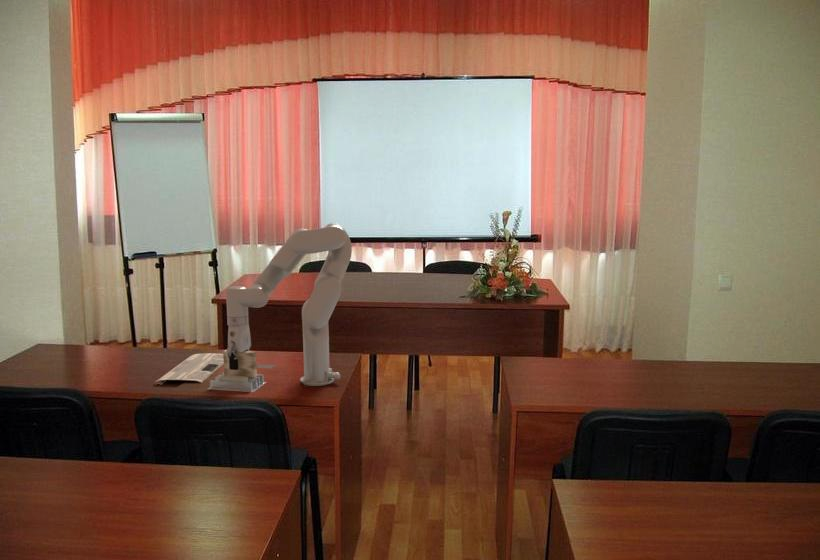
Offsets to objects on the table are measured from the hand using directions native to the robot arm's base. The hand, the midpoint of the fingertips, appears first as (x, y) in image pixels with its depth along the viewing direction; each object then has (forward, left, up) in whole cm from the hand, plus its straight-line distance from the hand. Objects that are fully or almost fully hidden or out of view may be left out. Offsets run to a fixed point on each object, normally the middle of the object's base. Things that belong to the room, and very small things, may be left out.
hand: (239, 365), depth 276 cm
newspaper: (+27, -14, -8) cm, 31 cm away
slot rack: (0, +3, -8) cm, 8 cm away
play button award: (+4, -14, -8) cm, 17 cm away
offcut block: (0, +6, -7) cm, 9 cm away
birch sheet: (0, 0, -7) cm, 7 cm away
